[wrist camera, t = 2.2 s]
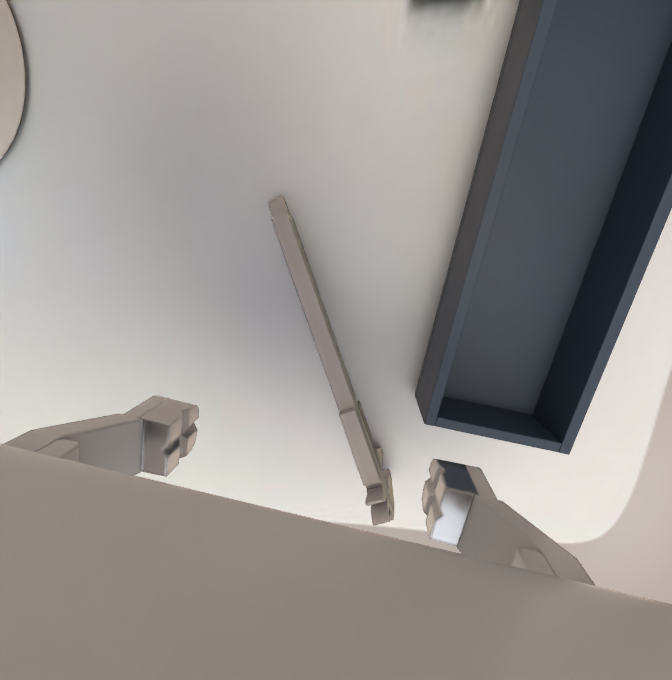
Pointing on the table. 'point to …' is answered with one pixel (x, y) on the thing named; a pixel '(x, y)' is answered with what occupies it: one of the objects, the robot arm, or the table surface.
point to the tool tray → (555, 221)
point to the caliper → (335, 369)
